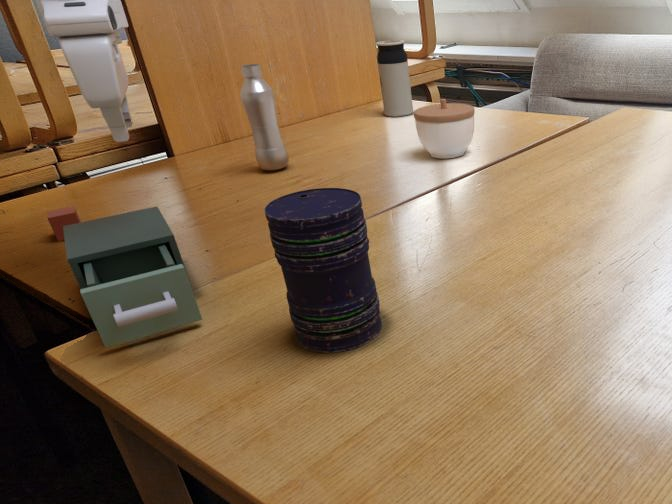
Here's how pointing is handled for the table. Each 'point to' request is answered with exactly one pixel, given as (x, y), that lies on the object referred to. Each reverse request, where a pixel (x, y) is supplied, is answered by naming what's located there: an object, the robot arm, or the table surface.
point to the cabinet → (117, 238)
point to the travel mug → (394, 78)
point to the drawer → (138, 294)
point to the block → (62, 220)
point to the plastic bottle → (263, 119)
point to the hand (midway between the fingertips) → (124, 133)
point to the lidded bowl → (445, 128)
